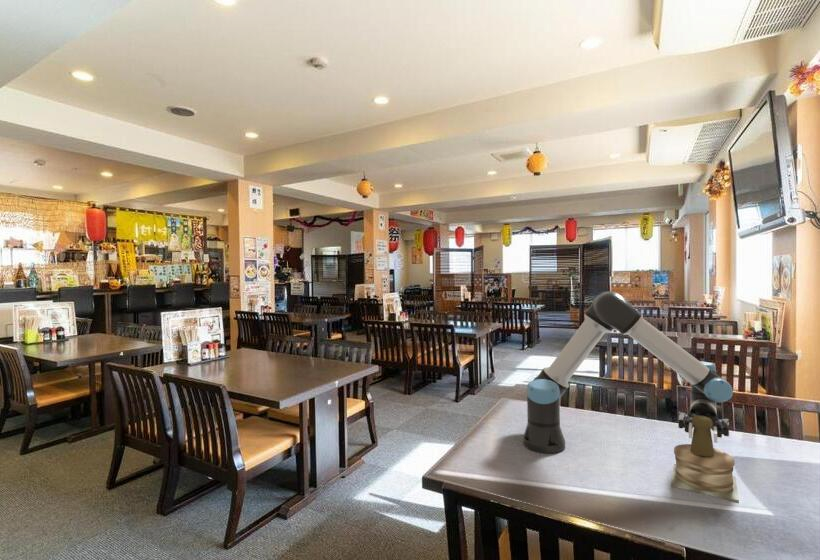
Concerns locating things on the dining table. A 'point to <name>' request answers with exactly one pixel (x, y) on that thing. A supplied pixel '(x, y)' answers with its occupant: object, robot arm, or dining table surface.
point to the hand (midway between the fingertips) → (702, 435)
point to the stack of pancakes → (704, 473)
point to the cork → (702, 436)
